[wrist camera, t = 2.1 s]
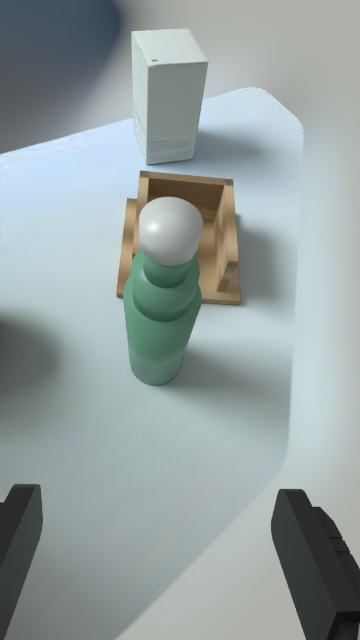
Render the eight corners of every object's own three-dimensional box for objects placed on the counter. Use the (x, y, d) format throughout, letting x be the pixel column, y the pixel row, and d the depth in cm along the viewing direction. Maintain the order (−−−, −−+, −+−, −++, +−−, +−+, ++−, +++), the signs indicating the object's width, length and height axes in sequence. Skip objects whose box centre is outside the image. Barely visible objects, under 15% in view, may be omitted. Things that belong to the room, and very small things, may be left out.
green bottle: (119, 360, 34) (91, 215, 15) (155, 328, 36) (170, 165, 17) (154, 395, 33) (171, 288, 14) (190, 361, 35) (247, 225, 16)
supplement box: (194, 160, 48) (210, 62, 36) (145, 166, 46) (145, 65, 35) (179, 127, 51) (190, 26, 39) (132, 131, 49) (129, 28, 38)
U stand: (127, 204, 43) (125, 157, 37) (232, 213, 44) (247, 169, 38) (117, 297, 37) (111, 261, 31) (238, 305, 38) (257, 271, 32)
